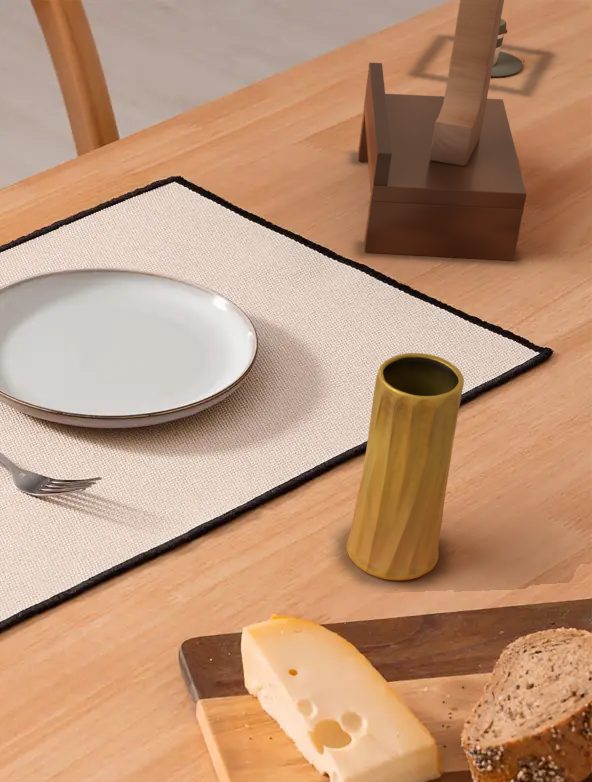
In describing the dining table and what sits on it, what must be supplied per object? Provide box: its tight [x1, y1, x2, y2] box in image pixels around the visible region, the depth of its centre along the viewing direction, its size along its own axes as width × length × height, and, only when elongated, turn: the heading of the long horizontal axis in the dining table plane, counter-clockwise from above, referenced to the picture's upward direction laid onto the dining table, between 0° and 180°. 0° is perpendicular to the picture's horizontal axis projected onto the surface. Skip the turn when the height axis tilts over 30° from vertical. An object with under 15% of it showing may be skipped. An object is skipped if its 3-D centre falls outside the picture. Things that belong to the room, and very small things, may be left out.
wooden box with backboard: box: [357, 62, 527, 262], centre depth 142 cm, size 13×20×10 cm, turn 174°
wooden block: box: [430, 0, 505, 166], centre depth 135 cm, size 7×3×15 cm, turn 157°
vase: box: [346, 352, 465, 581], centre depth 100 cm, size 6×6×14 cm
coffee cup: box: [491, 18, 524, 78], centre depth 170 cm, size 12×12×5 cm
